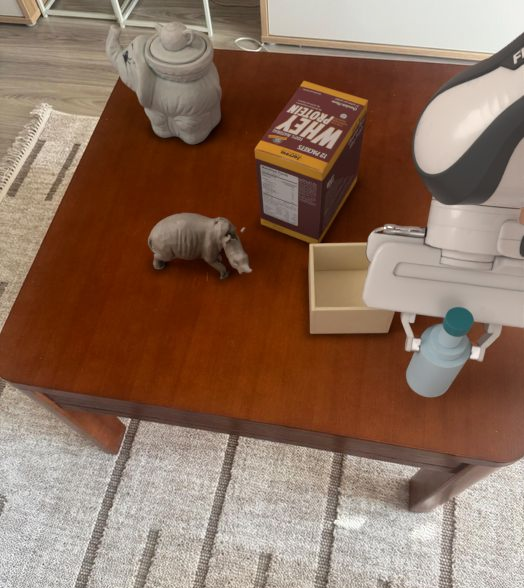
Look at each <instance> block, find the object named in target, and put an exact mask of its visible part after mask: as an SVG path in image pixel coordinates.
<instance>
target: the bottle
mask: <svg viewBox="0 0 524 588" xmlns="http://www.w3.org/2000/svg"><path fill="white" fill-rule="evenodd" d="M474 323H475V322H474V318H473V315H472V314H471V312H470V311H468V310H467V309H465V308H462V307H454V308H452V309H450V310H449V311H448V312H447V313H446V315H445V318H443V319H442V323H435V324H432V325H430V326H429V327H427V328H426V329H425V330H424V331H423V332H422V333H421V335H420V336H421V339H422V340H421V345H420V346H419V347H420V350H419V353H417V352H413V355H412V357H411V359H410V362H409V364H408V366H407V368H406V371H405V379H406V382H407V384H408V386H409V388H410V389H411V390H412V391H413V392H414V393H415V394H417V395H419V396H421V397H425V398H437V397H439V396H442V395H444V394H445V393H446V392H447V391H448V389H450V387H451V385H452V384H453V382H454V381H455V379H456V378H457V376H458V375H459V373H460V372H461V370H462V368H463V367H464V365H466V362H467V360H468V358H469V356H470V353H471V344H470V342H471V341H470V338H469V336H468V335H467V334H468V333H469V332H470V330H471V328H472V327H473V325H474Z"/></svg>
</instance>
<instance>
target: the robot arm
mask: <svg viewBox="0 0 524 588" xmlns="http://www.w3.org/2000/svg"><path fill="white" fill-rule="evenodd" d="M415 123H416V124H415V126H414V130H413V135H412V139H411V154H412V155H411V156H412V160H413V164H414V167H415V170H416V173H417V175H418V177H419V179H420V180H421V182H422V184H423V185H424V187H425V188H426V189H427V191H428V193H430V194H431V196H432V197H431V202H430V208H429V212H428V217H427V224H426V227H424V226H414V225H409V226H408V225H397V224H394V223H385V224H383V226H380V227H377V228H375V229H373V230H372V231H371V232H370V233H369V234H368V237H367V240H366V243H367V246H366V257H367V260H368V261H369V263H370V264H369V267H368V270H367V274H366V277H365V281H364V286H363V291H362V300H363V302H364V303H365V305H366V306H367V307H368V308H373V309H381V310H389V311H395V313H396V312H398V313H400V317H399V318H400V321H401V323H402V326H403V329H404V332H405V335H406V337H405V338H406V339H405V344H404V350H405V352H411V353H414V352H417V353H419V350H420V347H419V346H420V345H421V340H422V339H421V336H422V335H421V334H420V333H419V334H418V333H414V332H413V329H412V328H411V327H412V326H411V324H414V323H415V322H416V321H415V320H416V316H417V315H420V316H427V317H435V318H442V319H444V318H445V315H446V313H447V312H448V311H449V310H450V309H452V308H454V307H462V308H465V309H467V310H468V311H470V312H471V314H472V315H473V318H474V323H481V324H483V329H484V330H485V332H484V333H483V334H482V335H481V336H480V338H479V339H478V340H477V341H470V344H471V353H470V356H469V358H468V359H467V360H468V361H474V362H481V363H482V362H483V361H484V359H485V358H484V357H485V354H486V349H488V348H489V347H490V346H491V345H492V344H493V343H494V342H495V341H496V340H497V339H498V338H499V337H500V336H501V334H502V329H503V326H504V327H510V328H511V327H512V328H520V329H524V223H522V222H521V220H520V217H521V213H522V209H523V208H524V31H523V32H521V34H519V35H518V36H516V37H515V38H514V39H513V40H512V41H510V42H509V43H508V44H506V45H505V46H504V47H503V48H501V49H500V50H499V51H496V52H495V53H494V54H493V55H491V56H489V57H487V58H484V59H482V60H480V61H478V62H477V63H474V64H472V65H470V66H468V67H466V68H464V69H462V70H461V71H459V72H457V73H456V74H455V75H453V76H452V77H451V78H450V79H448V80H447V81H446V82H445V83H444V84H443V85H442V86H441V87H440V88H438V89H437V91H436V92H435V93H434V94H433V95H432V96H431V98H429V100H428V102H427V103H426V104H425V105H424V107H423V108H422V111H421V113H419V116H418V119H417V121H416V122H415ZM381 232H382V233H381Z"/></svg>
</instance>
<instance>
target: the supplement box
mask: <svg viewBox="0 0 524 588" xmlns="http://www.w3.org/2000/svg"><path fill="white" fill-rule="evenodd" d="M368 107H369V99H365V98H362V97H359V96H355V95H352V94H350V93H345V92H343V91H340V90H336V89H332V88H329V87H327V86H322V85H319V84H316V83H314V82H310V81H306V80H303V81H302V83H300V86H299V87H298V88H297V90H296V91H295V92H294V94H293V95H292V97H291V98H290V99H289V101H288V102H287V103H286V104H285V106H284V108H283V109H282V110H281V111H280V113H278V115H277V117H276V118H275V119H274V120H273V123H272V124H271V125H270V127H269V128H268V129H267V131H266V132H265V134H264V135H263V136H262V138H261V139H260V141H259V142H258V143H257V145H256V146H255V148H254V159H255V160H254V161H255V170H256V183H257V192H258V204H259V205H258V206H259V218H260V225H262V226H265V227H267V228H269V229H272V230H275V231H277V232H279V233H282V234H285V235H287V236H289V237H292V238H296V239H298V240H300V241H303V242H306V243H308V244H321V242H322V240H323V239H324V237H325V235H326V234H327V232H328V230H329V229H330V227H331V226H332V224H333V222H334V220H335V219H336V217H337V215H338V214H339V212H340V210H341V208H342V207H343V205H344V203H345V202H346V200H347V198H348V197H349V196H350V193H351V192H352V191H353V188H354V187H355V185H356V183H357V181H358V175H359V167H360V160H361V154H362V146H363V140H364V131H365V126H366V118H367V114H368V113H367V112H368Z"/></svg>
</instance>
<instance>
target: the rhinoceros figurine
mask: <svg viewBox="0 0 524 588" xmlns="http://www.w3.org/2000/svg"><path fill="white" fill-rule="evenodd" d="M245 230H246V227H245V226H244V227H242V228H241V230H240V232H241V233H244V232H245ZM147 245H148V247H149V249H150V250H151V252H152V253H154V254H153V261H152V265H153V267H154V269H156V270H162V269H164V268H166V267H165V266H166V265H165V264H166V262H171V261H173V259H180V260H185V261H192V260H197V259H202V260H204V262H206V263H207V264H208V265H209V266H211V267H212V268H213V269H215V270H216V271H218V272H219V273H220V277H219V278H220V280H222V279H224V278H225V279H226V277H228V276H229V273H230V271H227V268H226V266H225V264H224V263H222V259H223V257H222V254H221V253H220V252H222V251H223V250H224V253H225V256H226V258H227V259H228V262H229V264H230V266H231V267H232V268H233V269H236V270H237V272H238V274H239V275H242V274H243V273H246V274H250V273H252V272H253V269H252V268H250V266H249V265H250V261H249V255H248V254H247V253H246V252H245V251H244V247H243V245H242V241H241V239H240V237H239V235H238V233H237V227H236V226H235V225H234V224H233V223H232V222H231V221H230V220H229V219H227V218H226V217H223V216H222V217H221V216H218V217H215V218H211V217H208V216H205V215H202V214H200V213H197V212H196V213H195V212H193V213H192V212H181V213H175V214H172V215H170V216H167V217H164V218H163V219H162V220H160V221H158V222H157V223H156V225H154V226H153V228H152V229H151V231H150V233H149V236H148V237H147Z"/></svg>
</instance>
